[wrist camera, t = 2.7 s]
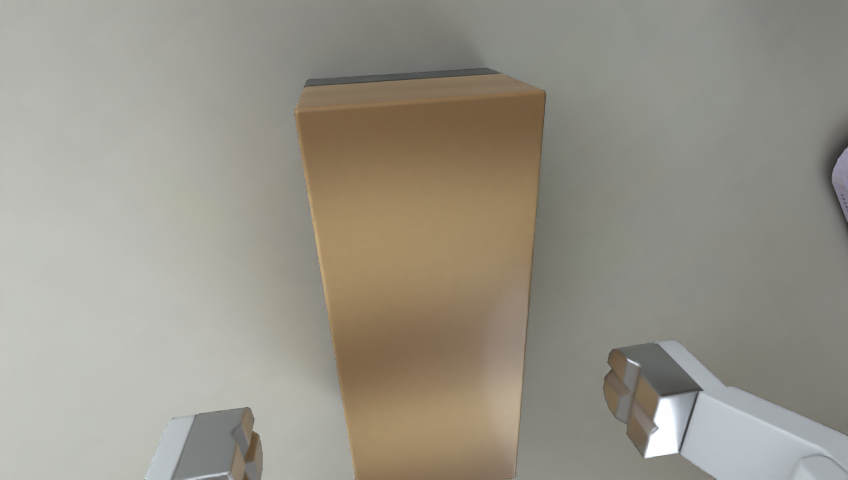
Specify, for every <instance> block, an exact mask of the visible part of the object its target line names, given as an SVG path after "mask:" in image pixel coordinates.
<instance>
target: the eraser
mask: <svg viewBox="0 0 848 480" xmlns="http://www.w3.org/2000/svg"><path fill="white" fill-rule="evenodd" d="M545 100H546V93H545V91H544V90H541V89H539V88H536V87H534V86H531V85H528V84H526V83H523V82H521V81H518V80H516V79H513V78H511V77H508V76H506V75H503V74H502V73H499V72H497V71H494V70H491V69H489V68H480V69H465V70H449V71H434V72H418V73H403V74H387V75H371V76H356V77H340V78H325V79H309V80H307V81H306V83H305V86H304V89H303V91H302V94H301V96H300V99H299V101H298V103H297V106H296V108H295V112H294V115H295V121H296V127H297V133H298V139H299V145H300V151H301V157H302V163H303V169H304V175H305V181H306V187H307V193H308V198H309V204H310V210H311V216H312V222H313V228H314V234H315V240H316V246H317V252H318V258H319V264H320V270H321V276H322V282H323V288H324V294H325V300H326V306H327V312H328V318H329V324H330V330H331V336H332V342H333V348H334V354H335V360H336V366H337V372H338V378H339V384H340V390H341V396H342V402H343V408H344V414H345V420H346V426H347V432H348V438H349V444H350V450H351V456H352V461H353V467H354V473H355V479H356V480H506V479H511V478H514V477H515V476H516V464H517V451H518V439H519V426H520V414H521V401H522V389H523V376H524V364H525V351H526V338H527V326H528V313H529V301H530V288H531V276H532V263H533V251H534V238H535V226H536V213H537V200H538V188H539V175H540V163H541V150H542V138H543V125H544V113H545Z"/></svg>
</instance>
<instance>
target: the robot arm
mask: <svg viewBox="0 0 848 480" xmlns="http://www.w3.org/2000/svg"><path fill="white" fill-rule="evenodd" d="M607 363H608V364H609V365H610V367H611V368H612V369H611V371H610V372H609V373H608V374H607V375H606V376H605V378H604V386H603V390H604V395H605V400H606V402H607V405H608V407H609V409H610V411H611V412H612V414H613V415H614V417H615V418H617V419H618V420H620V421H622V422H624V423H625V424H627V432H626V434H627V435H628V437H629V438H630V440H631V441H632V442H633V444H634V445H635V447H636V448H637V450H638V451H639V452H640V454H641V455H642V457H643V458H650V457H656V456H662V455H669V454H675V453H680V455H681V456H682V457H684V458H685V459H687V460H688V461H690V462H691V463H693V464H694V465H695V466H697V467H698V468H700V469H701V470H703V471H704V472H706V473H707V474H709V475H710V476H711V477H713V478H714V479H716V480H848V435H846V434H843V433H841V432H839V431H837V430H834V429H832V428H830V427H827V426H825V425H823V424H820V423H818V422H816V421H813V420H811V419H809V418H806V417H804V416H802V415H799V414H797V413H795V412H793V411H790V410H788V409H786V408H783V407H781V406H779V405H776V404H774V403H772V402H769V401H767V400H765V399H762V398H760V397H758V396H755V395H753V394H751V393H748V392H746V391H744V390H742V389H739V388H737V387H735V386H730V387H727V386H726V385H724V384H723V383H722V382H721V381H720V380H719V379H718V378H717V377H716V376H715V375H714V374H713V373H712V372H711V371H710V370H709V369H708V368H706V367H705V366H704V365H703V364H702V363H701V362H700V361H699V360H698V359H697V358H696V357H695V356H694V355H693V354H692V353H691V352H690V351H688V350H687V349H686V348H685V347H684V346H683V345H682V344H681V343H680V342H679V341H676V340H674V339H669V340H663V341H658V342H653V343H646V344H640V345H635V346H629V347H623V348H617V349H612V351H611V352H610V353H609V357H608V362H607ZM253 425H254V417H253V414H252V411H251V408H248V407H245V408H238V409H230V410H223V411H215V412H208V413H200V414H197V415H190V416H182V417H174V418H172V419H171V420H170V421H169V422H168V424H167V425H166V427H165V430H164V432H163V435H162V437H161V440H160V442H159V444H158V447H157V449H156V452H155V454H154V456H153V459H152V461H151V464H150V466H149V469H148V471H147V473H146V476H145V478H144V480H261V476H262V465H263V453H262V446H261V441H260V437H259V435H258V434H257V433H255V432H254V431H252V430H253Z"/></svg>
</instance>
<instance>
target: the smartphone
mask: <svg viewBox="0 0 848 480" xmlns="http://www.w3.org/2000/svg"><path fill="white" fill-rule="evenodd" d="M832 183H833V186H834V189H835V191H836V194H837V196H838V199H839V202H840V204H841V207H842V209H843V212H844V215H845V217H846V220H847V222H848V147H847V148H846V149H845V150H844V152H843V153H842V154H841V156H840V157H839V159H838V160H837V163H836V165H835V167H834V169H833V173H832Z"/></svg>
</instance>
